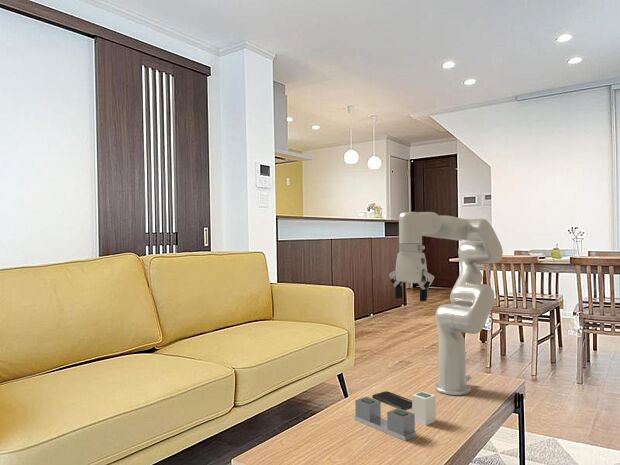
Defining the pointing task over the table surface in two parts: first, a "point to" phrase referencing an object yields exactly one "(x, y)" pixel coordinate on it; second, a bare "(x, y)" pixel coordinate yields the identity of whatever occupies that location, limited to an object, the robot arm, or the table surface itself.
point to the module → (424, 408)
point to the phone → (393, 400)
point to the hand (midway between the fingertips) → (410, 299)
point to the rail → (395, 425)
